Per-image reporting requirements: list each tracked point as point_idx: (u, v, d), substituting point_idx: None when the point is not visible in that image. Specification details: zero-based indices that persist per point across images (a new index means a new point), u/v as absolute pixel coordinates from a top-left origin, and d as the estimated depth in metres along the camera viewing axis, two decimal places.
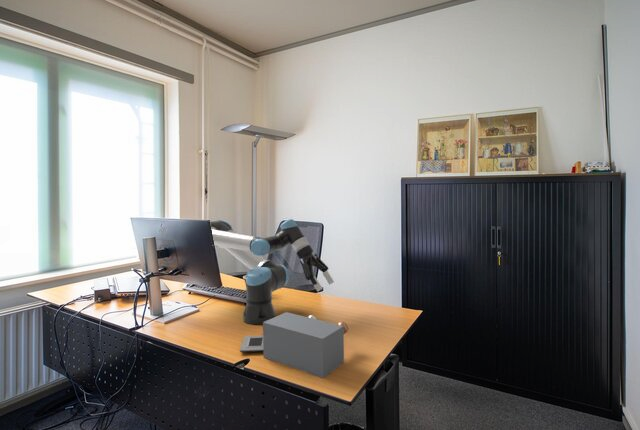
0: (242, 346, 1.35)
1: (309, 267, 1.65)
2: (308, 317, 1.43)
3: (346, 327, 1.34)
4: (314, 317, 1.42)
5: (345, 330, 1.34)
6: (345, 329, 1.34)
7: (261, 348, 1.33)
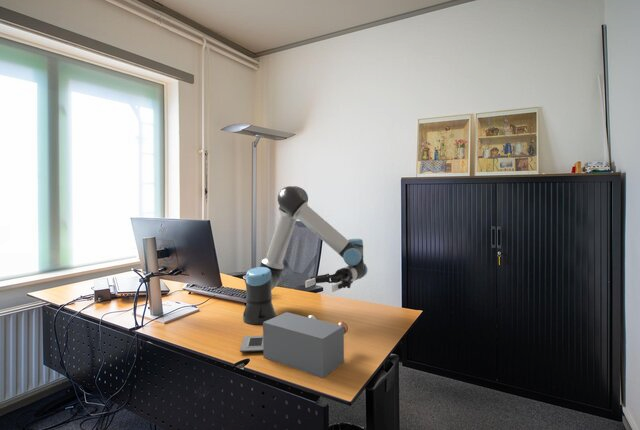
0: (242, 346, 1.35)
1: None
2: (308, 317, 1.43)
3: (346, 327, 1.34)
4: (314, 317, 1.42)
5: (345, 330, 1.34)
6: (345, 329, 1.34)
7: (261, 348, 1.33)
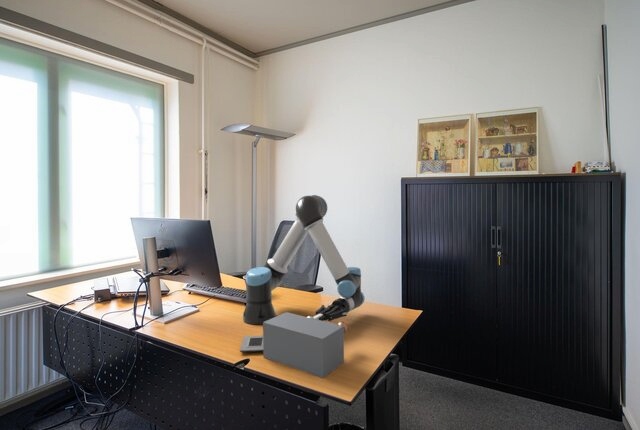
0: (242, 346, 1.35)
1: None
2: None
3: (346, 327, 1.34)
4: None
5: (345, 330, 1.34)
6: (345, 329, 1.34)
7: (261, 348, 1.33)
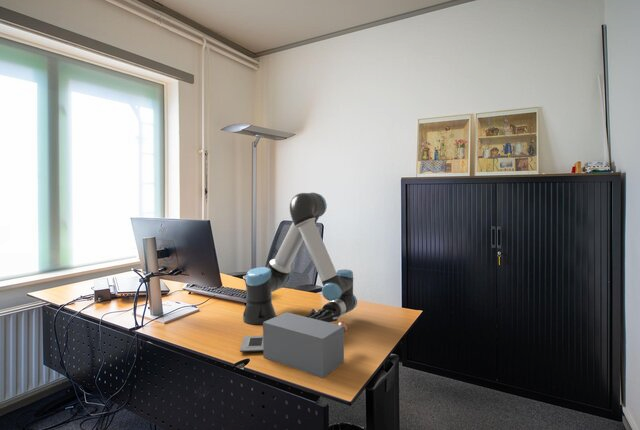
0: (242, 346, 1.35)
1: None
2: None
3: (346, 327, 1.34)
4: None
5: (345, 330, 1.34)
6: (345, 329, 1.34)
7: (261, 348, 1.33)
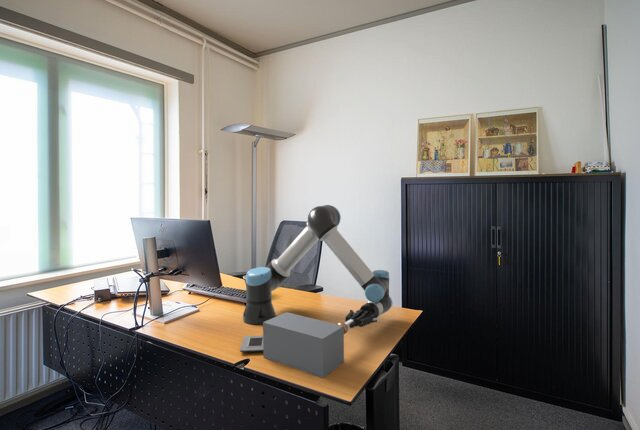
0: (242, 346, 1.35)
1: None
2: None
3: (346, 327, 1.34)
4: None
5: (345, 330, 1.33)
6: (345, 329, 1.33)
7: (261, 348, 1.33)
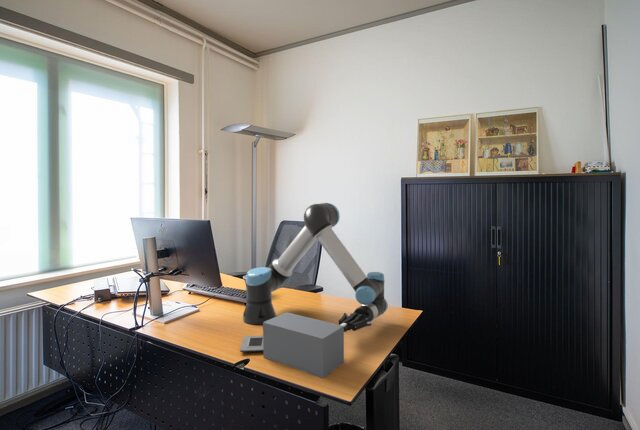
0: (242, 346, 1.35)
1: None
2: None
3: None
4: None
5: None
6: None
7: (261, 348, 1.33)
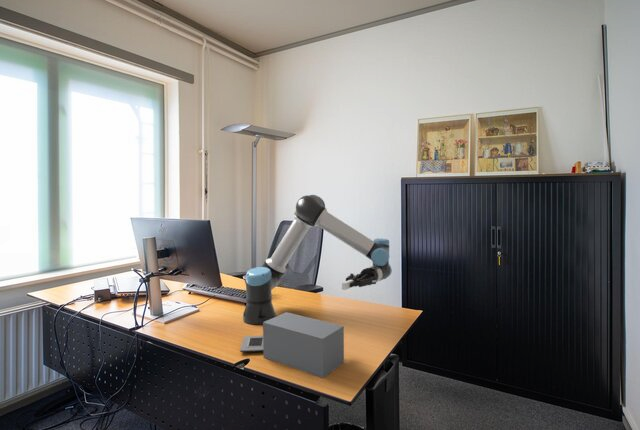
0: (242, 346, 1.35)
1: (362, 282, 1.52)
2: None
3: None
4: None
5: None
6: None
7: (261, 348, 1.33)
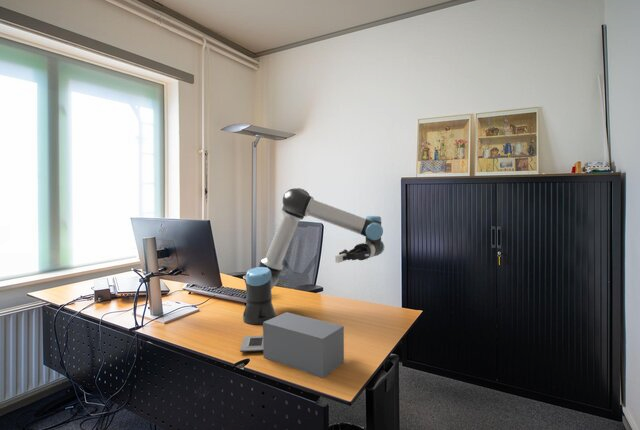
0: (242, 346, 1.35)
1: None
2: None
3: None
4: None
5: None
6: None
7: (261, 348, 1.33)
